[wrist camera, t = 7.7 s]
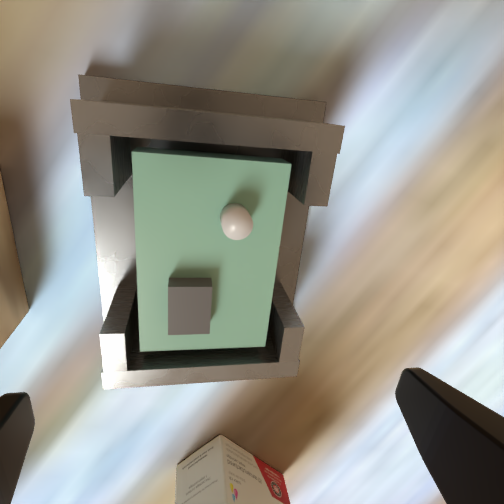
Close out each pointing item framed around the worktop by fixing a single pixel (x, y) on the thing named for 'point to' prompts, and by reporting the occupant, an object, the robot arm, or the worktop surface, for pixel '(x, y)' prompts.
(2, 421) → the robot arm
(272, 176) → the board
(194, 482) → the ink box
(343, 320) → the worktop surface
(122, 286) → the chassis
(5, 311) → the block
